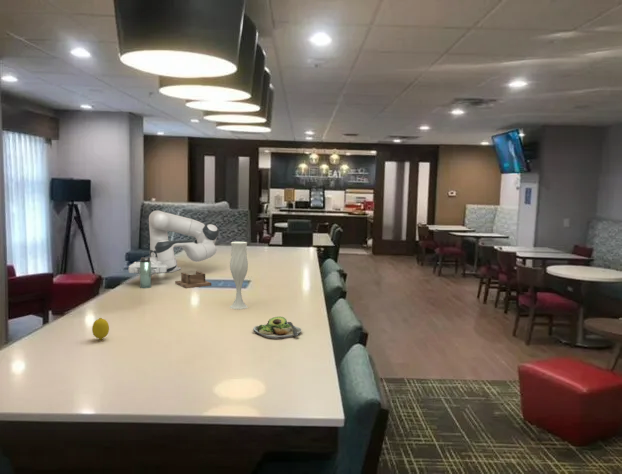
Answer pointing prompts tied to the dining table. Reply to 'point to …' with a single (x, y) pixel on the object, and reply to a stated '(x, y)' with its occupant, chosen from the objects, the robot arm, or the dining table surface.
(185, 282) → the u rest
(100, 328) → the lemon
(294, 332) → the salad plate
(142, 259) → the flask
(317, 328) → the dining table surface
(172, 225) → the robot arm
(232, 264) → the vase
